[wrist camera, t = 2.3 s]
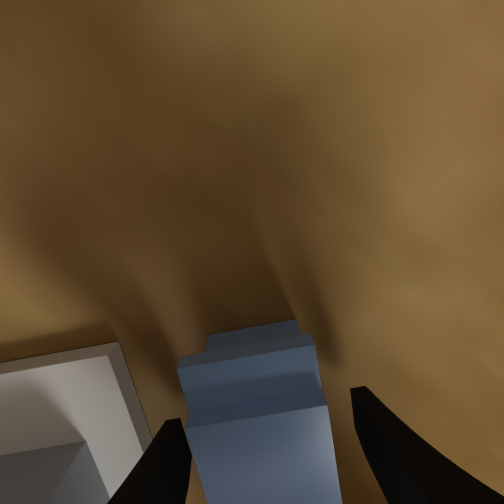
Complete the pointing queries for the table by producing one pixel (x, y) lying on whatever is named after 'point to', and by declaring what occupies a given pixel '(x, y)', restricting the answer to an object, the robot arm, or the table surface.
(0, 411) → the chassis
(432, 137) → the table surface
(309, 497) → the block
